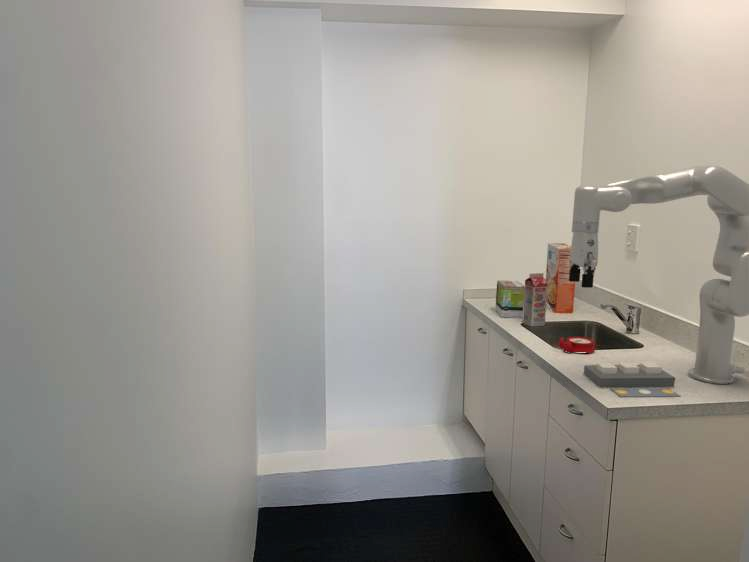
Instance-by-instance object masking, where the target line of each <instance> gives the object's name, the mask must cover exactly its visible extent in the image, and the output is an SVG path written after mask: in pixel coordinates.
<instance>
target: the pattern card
mask: <svg viewBox="0 0 749 562" xmlns="http://www.w3.org/2000/svg"><path fill="white" fill-rule="evenodd" d="M609 390H610V391H611V390H612V391H611V392H613V394H616V396H617V397H619V398H681V395H680V394H679V393H677V392H676V391H674V390H672V389H671V387H628V388H609Z"/></svg>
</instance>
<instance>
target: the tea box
mask: <svg viewBox="0 0 749 562" xmlns="http://www.w3.org/2000/svg"><path fill="white" fill-rule="evenodd" d="M524 291H525V284H523V283H521V282H520V281H518V280H497V281H496V291H495V309H494V310H495V311H496V313H497V314H498V315H499V316H500V317H501V318H504V317H505V318H506V319H507V318H508V319H510V318H511V319H523V309H524Z"/></svg>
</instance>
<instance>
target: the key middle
mask: <svg viewBox="0 0 749 562" xmlns="http://www.w3.org/2000/svg"><path fill="white" fill-rule="evenodd" d="M618 365H619V366H618V370H619V371H621V372H622V373H624V374H639V367H638V366H637V365H638V364H636V363H633V362H618Z"/></svg>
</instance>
